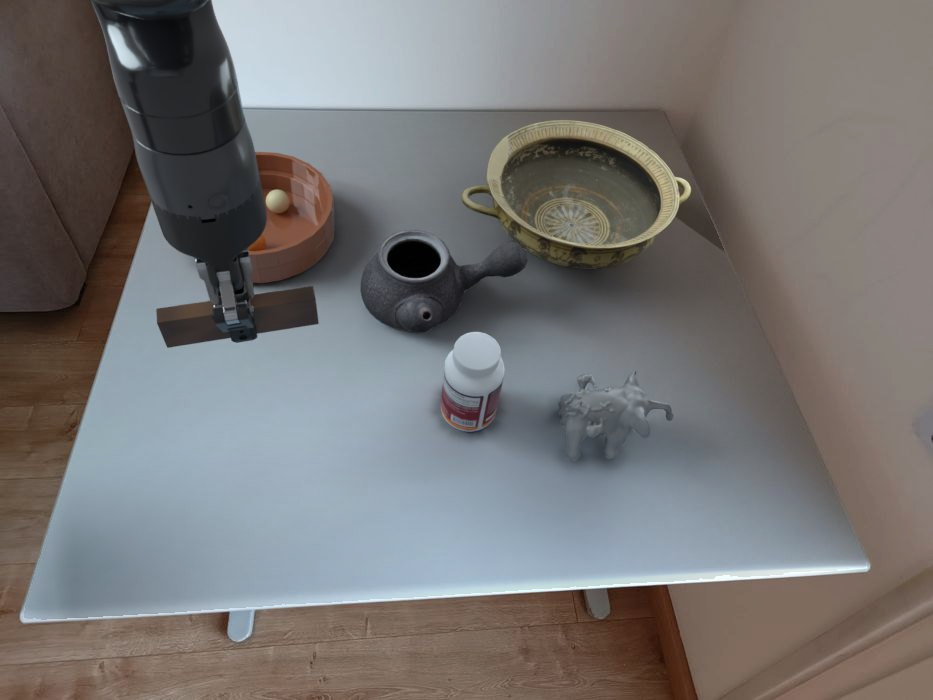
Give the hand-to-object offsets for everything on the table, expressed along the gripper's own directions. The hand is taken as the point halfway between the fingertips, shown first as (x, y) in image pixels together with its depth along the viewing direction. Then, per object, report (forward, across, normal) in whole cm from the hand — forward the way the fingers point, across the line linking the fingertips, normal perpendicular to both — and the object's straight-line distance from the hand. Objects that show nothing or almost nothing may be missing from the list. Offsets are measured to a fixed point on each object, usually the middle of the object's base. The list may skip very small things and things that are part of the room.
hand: (243, 328), depth 63 cm
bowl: (+15, -27, +2) cm, 31 cm away
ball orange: (+15, -24, +1) cm, 28 cm away
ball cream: (+15, -30, +5) cm, 34 cm away
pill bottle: (+15, +4, +21) cm, 26 cm away
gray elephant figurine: (+16, +10, +35) cm, 40 cm away
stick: (0, 0, 0) cm, 0 cm away
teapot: (+15, -11, +22) cm, 29 cm away
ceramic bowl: (+16, -20, +42) cm, 49 cm away
